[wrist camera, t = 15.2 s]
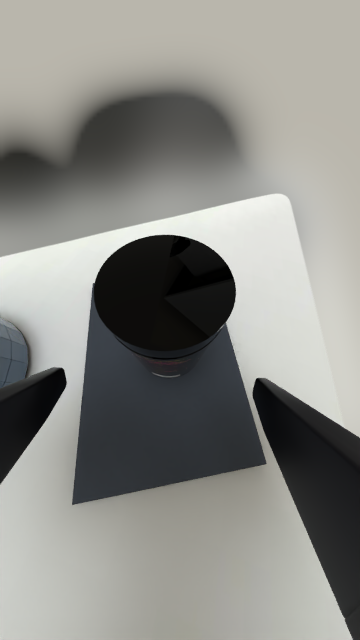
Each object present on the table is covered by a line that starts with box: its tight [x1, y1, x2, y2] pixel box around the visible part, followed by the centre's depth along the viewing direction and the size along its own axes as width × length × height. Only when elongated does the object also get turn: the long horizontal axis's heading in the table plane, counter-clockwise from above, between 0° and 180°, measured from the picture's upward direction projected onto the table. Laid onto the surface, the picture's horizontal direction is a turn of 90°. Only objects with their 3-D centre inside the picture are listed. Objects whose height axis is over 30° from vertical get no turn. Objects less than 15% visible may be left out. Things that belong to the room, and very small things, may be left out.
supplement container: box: [94, 235, 236, 378], centre depth 13 cm, size 7×7×10 cm
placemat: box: [72, 283, 266, 505], centre depth 17 cm, size 20×15×1 cm
